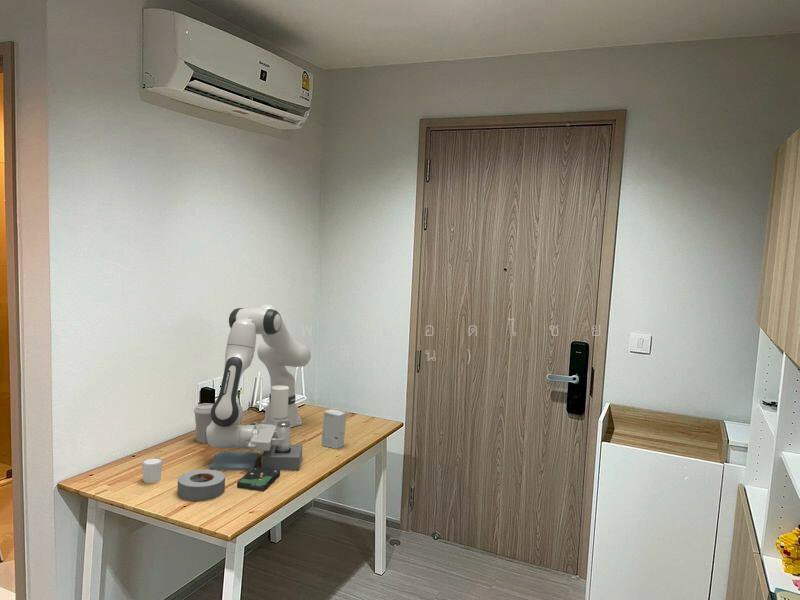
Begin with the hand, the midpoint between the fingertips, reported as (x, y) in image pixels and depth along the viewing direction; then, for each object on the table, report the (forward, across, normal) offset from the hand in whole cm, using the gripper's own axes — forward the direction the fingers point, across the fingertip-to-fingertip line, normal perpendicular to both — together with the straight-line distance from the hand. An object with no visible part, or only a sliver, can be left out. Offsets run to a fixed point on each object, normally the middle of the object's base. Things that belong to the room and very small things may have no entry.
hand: (285, 438), depth 231 cm
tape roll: (-25, -27, +10) cm, 38 cm away
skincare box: (+18, +21, +10) cm, 30 cm away
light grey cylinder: (-44, -19, +10) cm, 49 cm away
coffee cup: (-36, +23, +10) cm, 44 cm away
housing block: (-1, 0, +10) cm, 10 cm away
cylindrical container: (-5, +19, +10) cm, 22 cm away
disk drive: (-7, -18, +11) cm, 22 cm away
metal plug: (-1, 0, +10) cm, 10 cm away
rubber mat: (-19, 0, +10) cm, 21 cm away
